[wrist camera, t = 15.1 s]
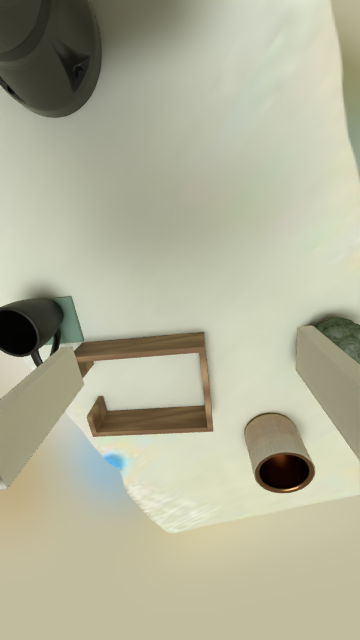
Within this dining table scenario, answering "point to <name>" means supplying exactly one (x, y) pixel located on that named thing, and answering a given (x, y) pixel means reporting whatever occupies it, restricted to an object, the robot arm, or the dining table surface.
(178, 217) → the dining table surface
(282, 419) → the planter
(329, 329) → the vegetable
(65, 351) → the robot arm
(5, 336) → the mug
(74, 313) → the mat
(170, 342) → the wooden tray frame
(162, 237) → the dining table surface
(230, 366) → the dining table surface
